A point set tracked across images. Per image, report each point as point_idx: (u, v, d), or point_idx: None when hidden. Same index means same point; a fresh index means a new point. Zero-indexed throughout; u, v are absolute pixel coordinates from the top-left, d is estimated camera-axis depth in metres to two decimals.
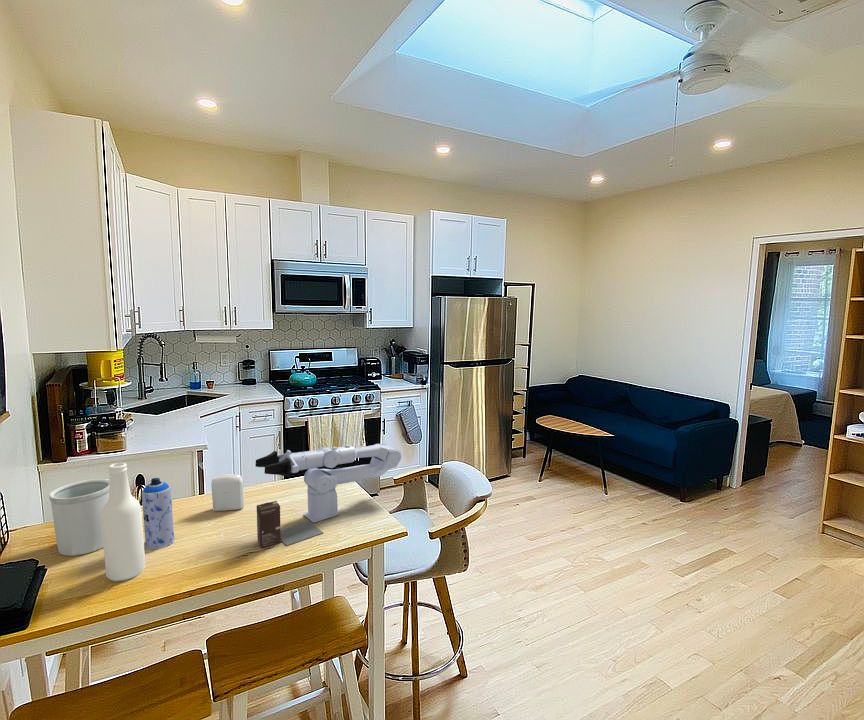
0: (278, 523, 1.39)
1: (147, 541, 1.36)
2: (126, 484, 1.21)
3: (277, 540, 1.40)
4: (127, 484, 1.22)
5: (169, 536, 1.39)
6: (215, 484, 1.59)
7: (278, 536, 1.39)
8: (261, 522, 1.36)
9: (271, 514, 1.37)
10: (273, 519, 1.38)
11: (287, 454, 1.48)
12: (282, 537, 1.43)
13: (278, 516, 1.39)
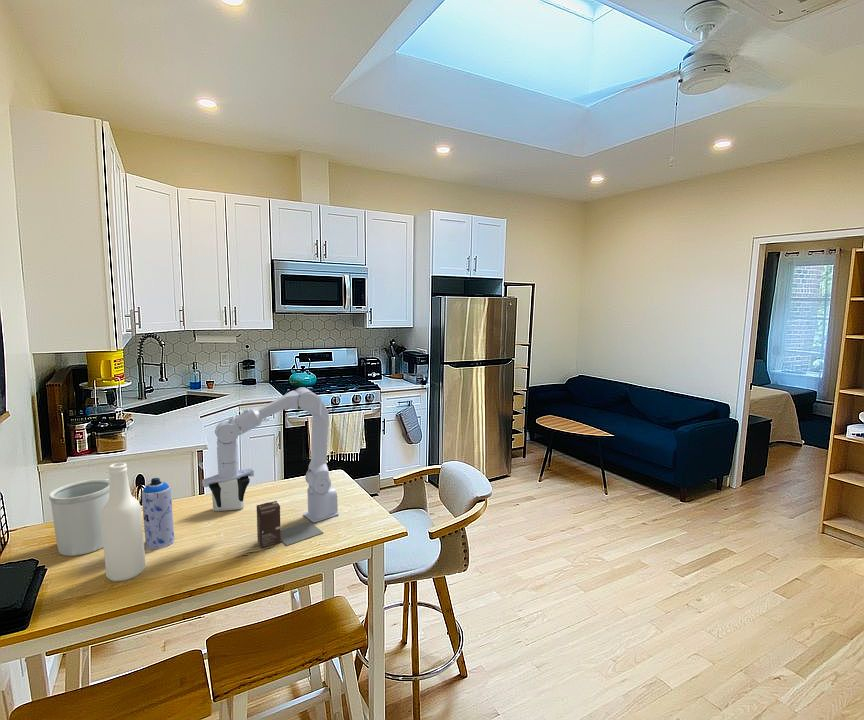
0: (278, 523, 1.39)
1: (147, 541, 1.36)
2: (126, 484, 1.21)
3: (277, 540, 1.40)
4: (127, 484, 1.22)
5: (169, 536, 1.39)
6: None
7: (278, 536, 1.39)
8: (261, 522, 1.36)
9: (271, 514, 1.37)
10: (273, 519, 1.38)
11: None
12: (282, 537, 1.43)
13: (278, 516, 1.39)
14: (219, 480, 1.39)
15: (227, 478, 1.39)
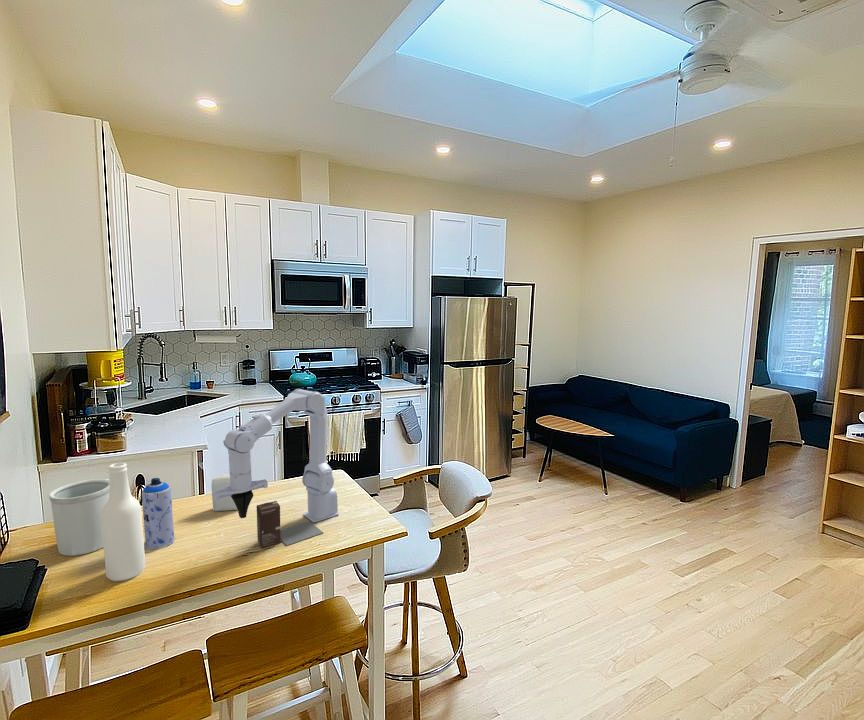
0: (278, 523, 1.39)
1: (147, 541, 1.36)
2: (126, 484, 1.21)
3: (277, 540, 1.40)
4: (127, 484, 1.22)
5: (169, 536, 1.39)
6: (215, 484, 1.59)
7: (278, 536, 1.39)
8: (261, 522, 1.36)
9: (271, 514, 1.37)
10: (273, 519, 1.38)
11: None
12: (282, 537, 1.43)
13: (278, 516, 1.39)
14: (231, 492, 1.30)
15: (240, 490, 1.30)
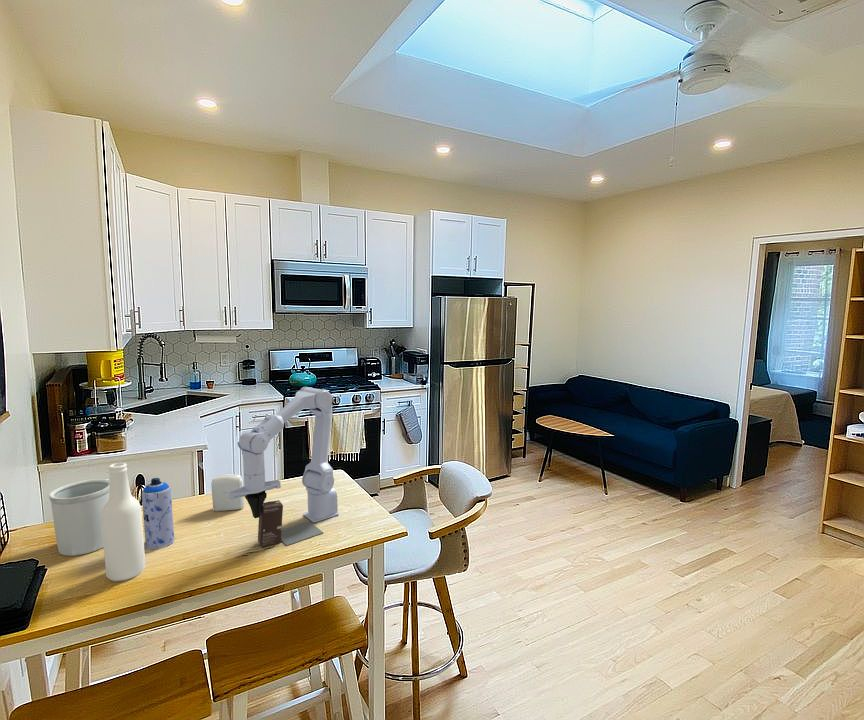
0: (280, 522, 1.39)
1: (147, 541, 1.36)
2: (126, 484, 1.21)
3: (277, 540, 1.40)
4: (127, 484, 1.22)
5: (169, 536, 1.39)
6: (215, 484, 1.59)
7: (279, 536, 1.40)
8: (263, 520, 1.36)
9: (274, 513, 1.38)
10: (275, 518, 1.38)
11: None
12: (282, 537, 1.43)
13: (281, 515, 1.39)
14: (246, 493, 1.32)
15: (254, 491, 1.33)
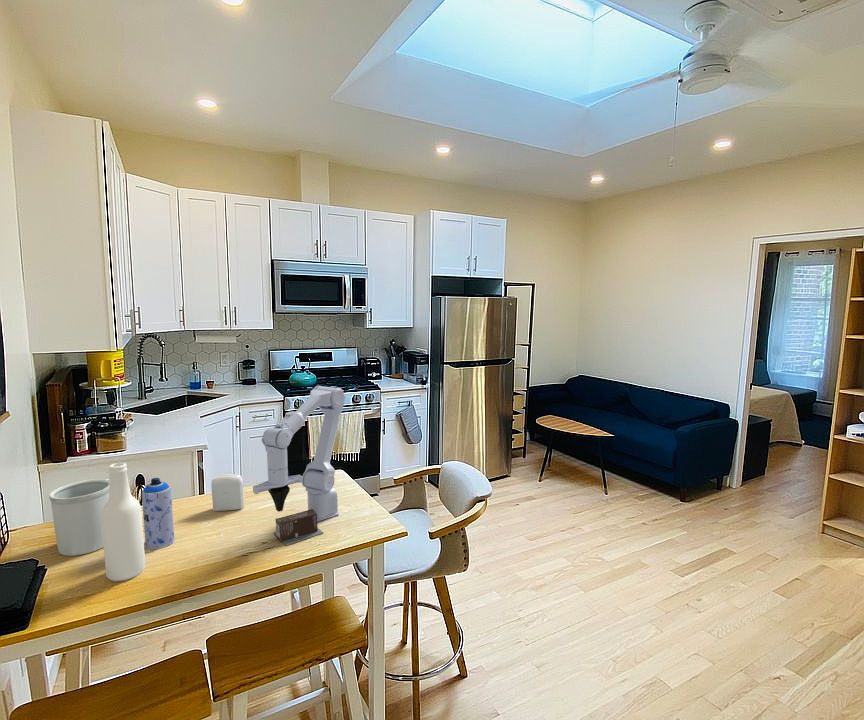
0: (300, 534, 1.44)
1: (147, 541, 1.36)
2: (126, 484, 1.21)
3: (283, 538, 1.41)
4: (127, 484, 1.22)
5: (169, 536, 1.39)
6: (215, 484, 1.59)
7: (287, 537, 1.41)
8: (305, 517, 1.44)
9: (311, 525, 1.45)
10: (306, 528, 1.44)
11: None
12: None
13: (308, 532, 1.45)
14: (270, 487, 1.36)
15: (278, 485, 1.37)
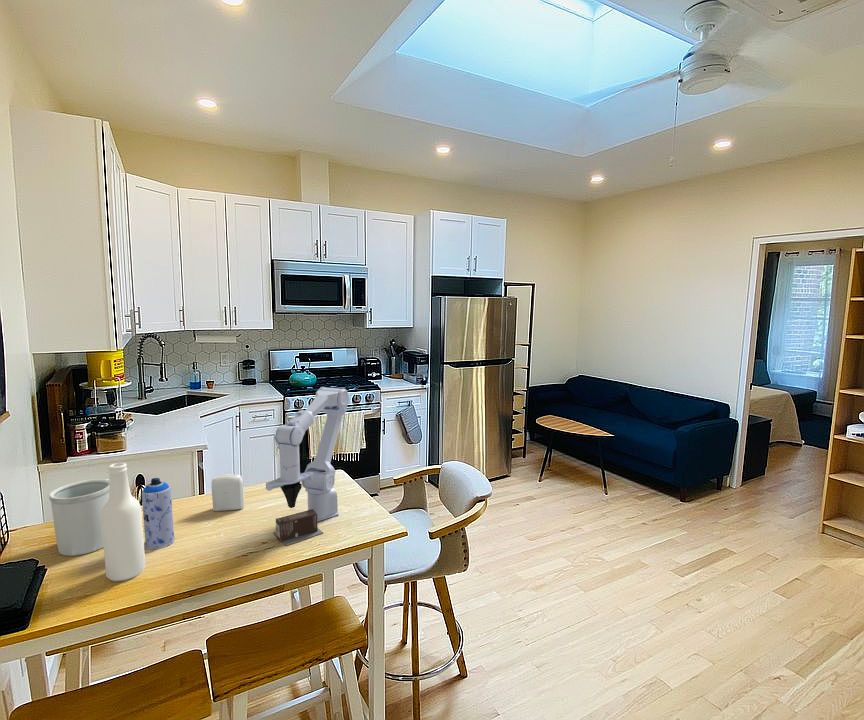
0: (301, 534, 1.44)
1: (147, 541, 1.36)
2: (126, 484, 1.21)
3: (283, 538, 1.41)
4: (127, 484, 1.22)
5: (169, 536, 1.39)
6: (215, 484, 1.59)
7: (287, 537, 1.41)
8: (305, 517, 1.44)
9: (311, 525, 1.45)
10: (306, 528, 1.44)
11: None
12: None
13: (308, 532, 1.45)
14: (282, 483, 1.39)
15: (290, 481, 1.40)
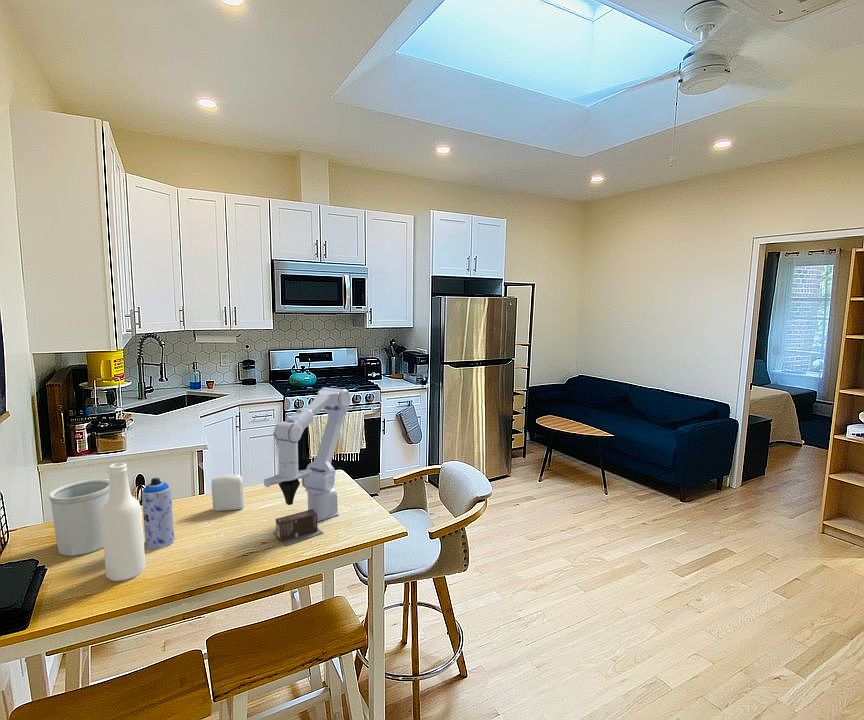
0: (301, 534, 1.44)
1: (147, 541, 1.36)
2: (126, 484, 1.21)
3: (283, 538, 1.41)
4: (127, 484, 1.22)
5: (169, 536, 1.39)
6: (215, 484, 1.59)
7: (287, 537, 1.41)
8: (305, 517, 1.44)
9: (311, 525, 1.45)
10: (306, 528, 1.44)
11: None
12: None
13: (308, 532, 1.45)
14: (281, 480, 1.39)
15: (288, 478, 1.40)
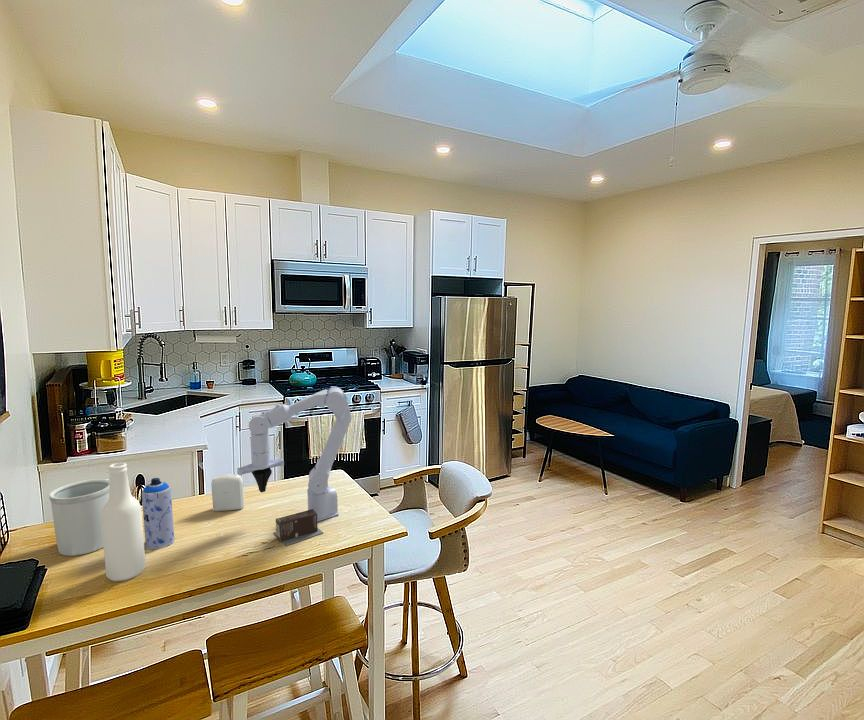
0: (301, 534, 1.44)
1: (147, 541, 1.36)
2: (126, 484, 1.21)
3: (283, 538, 1.41)
4: (127, 484, 1.22)
5: (169, 536, 1.39)
6: (215, 484, 1.59)
7: (287, 537, 1.41)
8: (305, 517, 1.44)
9: (311, 525, 1.45)
10: (306, 528, 1.44)
11: None
12: None
13: (308, 532, 1.45)
14: (253, 469, 1.48)
15: (260, 467, 1.49)
